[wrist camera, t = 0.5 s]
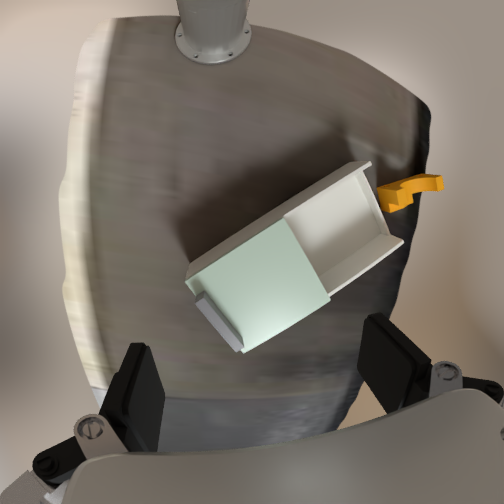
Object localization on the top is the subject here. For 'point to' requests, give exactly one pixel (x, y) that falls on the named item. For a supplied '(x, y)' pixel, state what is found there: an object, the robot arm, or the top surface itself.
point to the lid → (258, 288)
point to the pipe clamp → (407, 190)
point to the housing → (327, 228)
